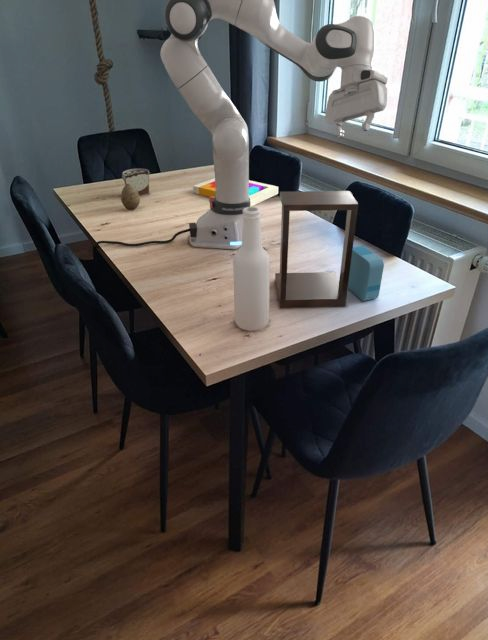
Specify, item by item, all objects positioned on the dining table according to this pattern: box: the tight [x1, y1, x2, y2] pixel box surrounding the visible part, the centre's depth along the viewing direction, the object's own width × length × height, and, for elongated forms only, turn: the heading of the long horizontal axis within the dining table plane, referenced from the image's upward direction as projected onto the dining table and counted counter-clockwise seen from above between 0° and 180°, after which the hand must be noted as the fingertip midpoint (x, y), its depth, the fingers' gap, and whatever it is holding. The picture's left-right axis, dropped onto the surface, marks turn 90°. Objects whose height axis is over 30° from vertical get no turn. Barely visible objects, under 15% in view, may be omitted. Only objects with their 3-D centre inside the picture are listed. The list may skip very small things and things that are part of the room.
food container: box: [121, 168, 151, 198], centre depth 204 cm, size 12×6×10 cm, turn 133°
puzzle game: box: [192, 177, 279, 207], centre depth 206 cm, size 30×3×30 cm
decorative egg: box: [120, 184, 141, 211], centre depth 190 cm, size 7×7×10 cm
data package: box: [348, 245, 385, 302], centre depth 136 cm, size 12×4×12 cm, turn 22°
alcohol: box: [232, 206, 271, 332], centre depth 117 cm, size 9×9×30 cm
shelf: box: [274, 190, 359, 309], centre depth 130 cm, size 18×16×28 cm
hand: (352, 133), depth 140 cm, fingers open, 8 cm apart
